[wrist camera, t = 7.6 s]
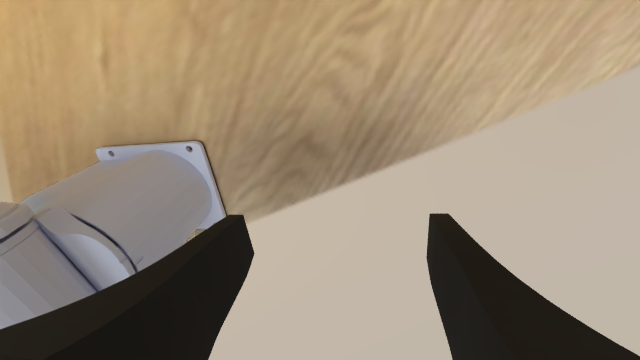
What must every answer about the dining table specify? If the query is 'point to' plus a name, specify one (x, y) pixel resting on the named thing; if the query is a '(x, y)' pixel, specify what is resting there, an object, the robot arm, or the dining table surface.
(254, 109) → the dining table surface
